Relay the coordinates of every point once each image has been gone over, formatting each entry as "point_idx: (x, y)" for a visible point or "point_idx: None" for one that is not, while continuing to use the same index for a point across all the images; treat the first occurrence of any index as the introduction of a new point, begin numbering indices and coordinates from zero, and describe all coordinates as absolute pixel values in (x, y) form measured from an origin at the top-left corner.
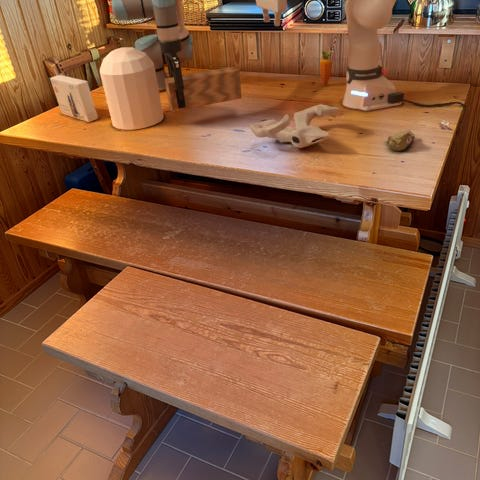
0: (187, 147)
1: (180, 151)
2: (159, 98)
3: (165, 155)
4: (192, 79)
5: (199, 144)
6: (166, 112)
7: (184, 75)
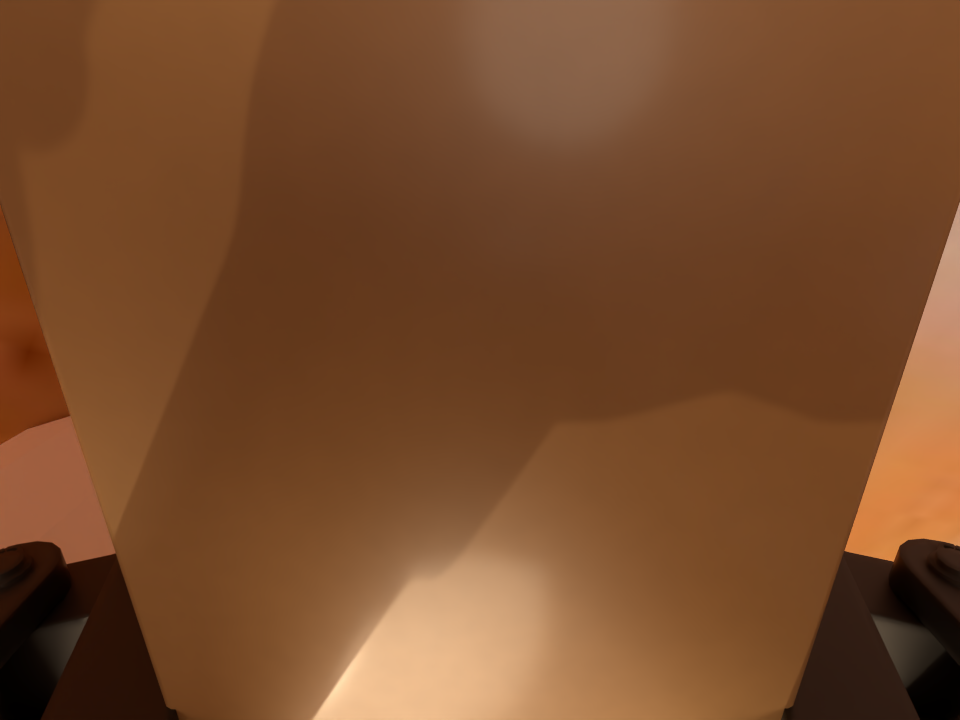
0: (931, 386)
1: (956, 444)
2: (75, 539)
3: (933, 535)
4: (911, 271)
5: (956, 290)
6: (47, 364)
7: (152, 481)
